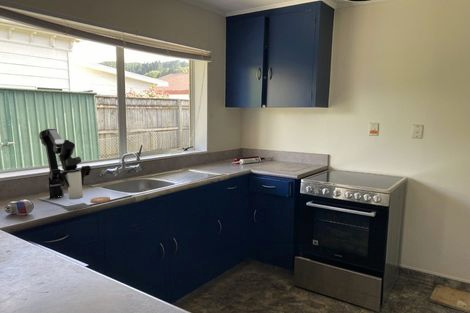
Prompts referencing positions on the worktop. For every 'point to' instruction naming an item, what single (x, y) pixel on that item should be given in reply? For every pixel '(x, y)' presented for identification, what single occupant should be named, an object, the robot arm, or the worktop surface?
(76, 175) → the tumbler
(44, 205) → the worktop surface
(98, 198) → the saucer
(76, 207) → the rubber mat
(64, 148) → the robot arm
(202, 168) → the worktop surface
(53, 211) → the worktop surface
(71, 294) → the worktop surface
